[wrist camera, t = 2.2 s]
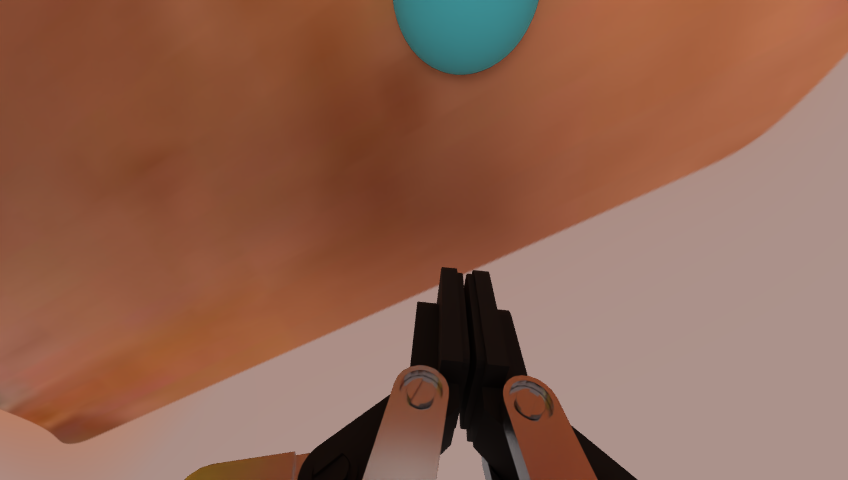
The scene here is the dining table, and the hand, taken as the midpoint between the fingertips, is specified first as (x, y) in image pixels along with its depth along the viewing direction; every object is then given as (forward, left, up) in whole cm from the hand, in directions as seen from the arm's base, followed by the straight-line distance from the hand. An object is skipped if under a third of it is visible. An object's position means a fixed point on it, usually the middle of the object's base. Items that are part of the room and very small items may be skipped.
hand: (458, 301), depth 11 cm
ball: (-1, +10, -8) cm, 13 cm away
